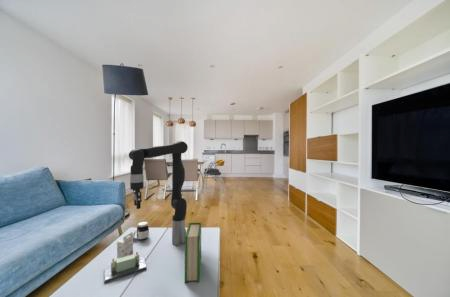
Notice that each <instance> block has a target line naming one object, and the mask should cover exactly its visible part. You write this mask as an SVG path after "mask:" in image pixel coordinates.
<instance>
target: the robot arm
mask: <svg viewBox="0 0 450 297" xmlns="http://www.w3.org/2000/svg"><path fill="white" fill-rule="evenodd" d="M188 148H189V147H188V144H187V143H186V142H185V141H182V140H178V141H174V142H172V144H167V145H158V146H150V147H144V148H136V149H131V150H130V151H129V153H128V157H129V159H130V160H132V164H131V166H130V177H129V183H130V184H129V187H130V188H129V189H130V190H132V197H133V198H132V199H133V205H134V206H136V209H137V210H140V209H141V208H142V207H141V205H142V204H141V203H142V191H141V190H142V189H144V188H145V187H144V186H145V185H144V182H145V181H144V167H143V166H144V164H145V163H144V162H145V159H151V158H152V159H153V158H157V157H161V156H167V155H171V157H172V164H171V166H172V170H171V171H172V172H171V174H172V175H171V179H172V181H171V189H172V190H171V197H170V198H171V199H170V205H171V208H173V209H174V214H173V215H172V222H171V224H172V225H171V226H172V230H171V244H172V245H173V246H182V245H183V244H184V245H185V235H186V232H187V229H186V216H187V208H188V206H187V200H186V199H185V198H184V197H182V188H183V186H184V183H185V178H186V171H185V167H184V164H183V161H182V154H185V153H186V152H187V151H188Z"/></svg>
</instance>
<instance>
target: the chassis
mask: <svg viewBox="0 0 450 297" xmlns="http://www.w3.org/2000/svg"><path fill="white" fill-rule="evenodd" d="M135 255H137V264H136V265H135V267H132V268H129V269H126V270H122V271H119V272H117V271H114V266H115V261H116V260H115V258H112V261H111V262H113V270H112V272H111V265H108V266H106V267H104V269H103V270H104V284H107V283H110V282H112V281H117V280H119V279H121V278H122V279H123V278H125V277H127V276H131V275H135V274H136V273H139V272H143V271H146V270H147V265H146V262H145V260H144V257H143V256H140V254H139V251H136V252H135ZM138 262H139V264H138Z"/></svg>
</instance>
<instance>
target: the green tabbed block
mask: <svg viewBox="0 0 450 297" xmlns="http://www.w3.org/2000/svg"><path fill="white" fill-rule="evenodd" d="M114 261H115V266H114V271H117V272H119V271H122V270H126V269H129V268H132V267H135V265H136V264H137V255H136V254H134V253H133V254H132V255H129V256H125V257H122V258H118V259H117V258H116V260H114ZM138 264H139V262H138ZM110 266H111V272H112V270H113V262H112V261H111V262H110Z"/></svg>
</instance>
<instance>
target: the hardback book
mask: <svg viewBox="0 0 450 297" xmlns="http://www.w3.org/2000/svg"><path fill="white" fill-rule="evenodd" d="M201 264H202V222H188V225H187V229H186V235H185V243H184V284H186V283H187V282H190V281H196V282H197V283H198V284H199V283H200V276H201V268H202V266H201Z"/></svg>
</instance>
